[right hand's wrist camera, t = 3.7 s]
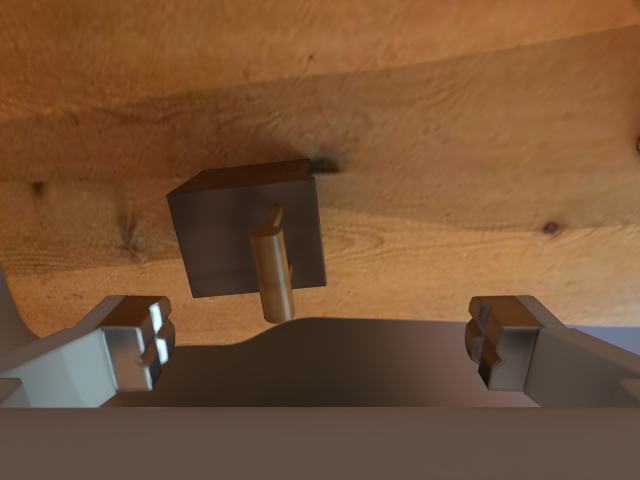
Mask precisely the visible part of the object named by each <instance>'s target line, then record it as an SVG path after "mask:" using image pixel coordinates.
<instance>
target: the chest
mask: <svg viewBox="0 0 640 480" xmlns="http://www.w3.org/2000/svg"><path fill="white" fill-rule="evenodd" d="M304 177H312V171H311V163H310V159H303V160H294V161H285V162H276V163H267V164H257V165H248V166H239V167H230V168H221V169H212V170H203V171H202V172H200V173H199V174H198V175H196V176H194V177H193V178H191V179H190V180H188V181H187V182H185V183H184V184H182V185H180V186H179V187H177V188H176V189H174V190H173V191H182V190H192V189H201V188H210V187H220V186H229V185H238V184H248V183H257V182H266V181H276V180H285V179H294V178H304ZM173 191H171V192H173Z"/></svg>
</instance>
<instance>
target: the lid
mask: <svg viewBox="0 0 640 480" xmlns="http://www.w3.org/2000/svg"><path fill="white" fill-rule="evenodd" d="M166 197H167V200H168V204H169V208H170V212H171V216H172V219H173V223H174V227H175V231H176V235H177V238H178V242H179V246H180V250H181V254H182V257H183V261H184V265H185V269H186V273H187V276H188V280H189V284H190V288H191V292H192V295H193V298H201V297H212V296H223V295H234V294H244V293H255V292H260V297H261V303H262V308H263V313H264V318H265V320H266V321H267V322H269V323H274V324H278V323H284V322H286V321H289V320H290V319H292V318H293V317H294V315H295V308H294V301H293V295H292V289H299V288H310V287H321V286H327V279H326V270H325V261H324V253H323V244H322V236H321V227H320V218H319V210H318V201H317V193H316V184H315V177H314V176H313V177H304V178H294V179H285V180H276V181H266V182H257V183H248V184H238V185H229V186H220V187H210V188H201V189H192V190H182V191H173V192H170V193H168V194H167V195H166Z"/></svg>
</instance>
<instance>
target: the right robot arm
mask: <svg viewBox="0 0 640 480" xmlns="http://www.w3.org/2000/svg"><path fill="white" fill-rule="evenodd" d="M638 149H639V151H640V140H639V143H638ZM171 311H172V310H171V305H170V300H169V299H168V298H167V297H166V296H133V295H130V296H128V295H112V296H106V297H105V298H104V299H103V300H102V301H101V302H100V303H99V304H98V305H97V306H96V307H95V308H94V309H92V310H91V311H90V312H89V313H88V314H87V315H86V316H85V317H84V318H83V319H82V320H81V321H80V322H79V323H78V324H77V325H75V326H74V327H73V328H66V329H63V330H61V331H59V332H56V333H54V334H51V335H49V336H47V337H44V338H42V339H39V340H37V341H35V342H32V343H30V344H27V345H25V346H22V347H20V348H18V349H15V350H13V351H10V352H8V353H6V354H3V355H1V356H0V480H640V356H639V355H637V354H634V353H632V352H629V351H627V350H625V349H622V348H620V347H617V346H615V345H613V344H610V343H608V342H605V341H603V340H601V339H598V338H596V337H593V336H591V335H588V334H586V333H584V332H581V331H579V330H577V329H574V328H567V327H566V326H565V325H564V324H562V323H561V322H560V321H559V320H558V319H557V318H556V317H555V316H554V315H553V314H552V313H551V312H550V311H549V310H548V309H547V308H545V307H544V306H543V305H542V304H541V303H540V302H539V301H538V300H537V299H536V298H535V297H534V296H531V295H516V296H513V295H511V296H476V297H472V299H471V301H470V304H469V310H468V311H469V313H470V314H471V316H472V317H473V318H472V319H471V320H470V321H469V323H468V324H467V325H466V329H465V346H466V349H467V352H468V355H469V357H470V358H471V360H472V361H474V362H475V363H477V364H478V365H479V370H478V373H479V374H480V376H481V378H482V380H483V381H484V383H485V385H486V386H487V388H488V390H489V391H520V392H524V394H525V395H527V396H528V397H529V398H531V399H532V400H533V401H535V402H536V403H537V404H539V405H540V406H541V407H99V406H100V405H101V404H103V403H104V402H105V401H107V400H108V399H109V398H111V397H112V396H113V395H115V394H116V392H120V391H151V390H152V388H153V387H154V385H155V383H156V381H157V380H158V378H159V376H160V374H161V373H162V369H161V365H162V364H163V363H165V362H166V361H168V360H169V358H170V356H171V355H172V353H173V349H174V345H175V328H174V325H173V324H172V323H171V321H170V320H169V319H168V318H167V317H168V316H169V314H170V313H171Z"/></svg>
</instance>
